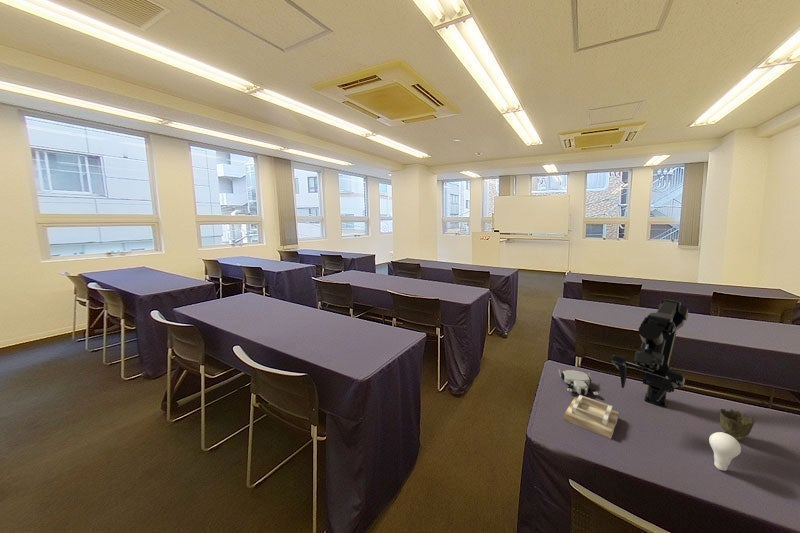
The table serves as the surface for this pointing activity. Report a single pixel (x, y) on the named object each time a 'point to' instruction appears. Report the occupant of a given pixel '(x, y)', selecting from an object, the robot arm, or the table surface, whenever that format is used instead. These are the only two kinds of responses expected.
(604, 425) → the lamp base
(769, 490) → the table surface
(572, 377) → the robot toy
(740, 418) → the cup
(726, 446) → the lightbulb
